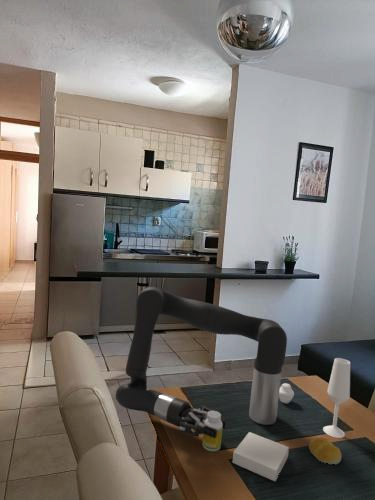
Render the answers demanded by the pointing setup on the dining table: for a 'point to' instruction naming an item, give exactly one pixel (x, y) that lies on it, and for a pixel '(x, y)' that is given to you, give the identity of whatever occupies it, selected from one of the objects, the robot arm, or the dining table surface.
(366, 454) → the dining table surface
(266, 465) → the stack of napkins
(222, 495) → the dining table surface
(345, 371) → the champagne flute
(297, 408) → the dining table surface
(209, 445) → the supplement bottle
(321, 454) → the bread roll
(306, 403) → the dining table surface
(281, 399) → the white lumpy ovoid
